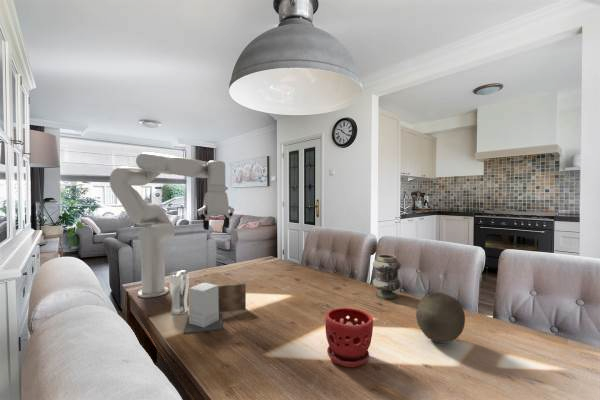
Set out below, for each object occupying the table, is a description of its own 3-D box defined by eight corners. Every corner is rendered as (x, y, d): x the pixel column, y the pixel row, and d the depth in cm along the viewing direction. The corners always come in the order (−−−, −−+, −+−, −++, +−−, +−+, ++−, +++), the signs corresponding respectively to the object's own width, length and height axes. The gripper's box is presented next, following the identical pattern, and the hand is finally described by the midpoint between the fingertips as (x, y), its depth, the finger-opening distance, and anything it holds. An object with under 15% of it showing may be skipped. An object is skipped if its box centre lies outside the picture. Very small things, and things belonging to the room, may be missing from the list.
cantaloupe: (407, 331, 97) (408, 287, 97) (448, 330, 98) (449, 286, 98) (428, 355, 83) (429, 303, 83) (476, 353, 84) (477, 302, 84)
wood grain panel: (197, 314, 111) (197, 287, 110) (197, 312, 112) (197, 286, 111) (245, 309, 115) (245, 284, 115) (245, 308, 116) (245, 283, 116)
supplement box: (219, 320, 104) (219, 285, 104) (203, 328, 98) (203, 291, 97) (204, 315, 108) (204, 281, 108) (188, 323, 101) (188, 287, 101)
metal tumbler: (182, 316, 109) (181, 276, 108) (165, 314, 110) (165, 275, 110) (192, 308, 116) (192, 271, 115) (176, 307, 117) (176, 270, 116)
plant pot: (374, 373, 75) (375, 327, 74) (323, 368, 77) (323, 323, 76) (370, 347, 88) (371, 307, 87) (326, 343, 90) (327, 304, 89)
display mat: (184, 333, 95) (184, 332, 95) (188, 318, 107) (188, 316, 107) (222, 329, 98) (222, 327, 98) (222, 314, 110) (222, 313, 110)
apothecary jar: (385, 289, 139) (385, 252, 139) (406, 297, 129) (407, 256, 128) (367, 294, 133) (367, 255, 132) (387, 302, 122) (388, 260, 122)
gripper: (229, 189, 135) (229, 226, 136) (193, 189, 123) (193, 229, 124) (238, 189, 130) (238, 227, 131) (201, 189, 118) (202, 231, 118)
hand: (216, 228), depth 127 cm, fingers open, 9 cm apart
